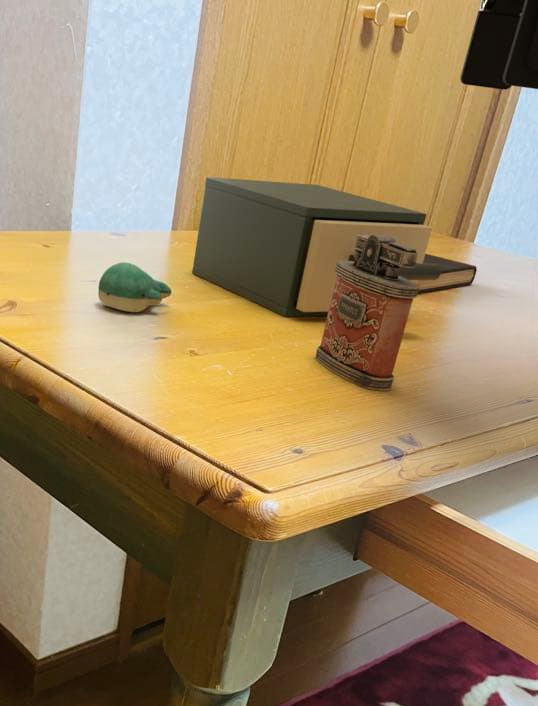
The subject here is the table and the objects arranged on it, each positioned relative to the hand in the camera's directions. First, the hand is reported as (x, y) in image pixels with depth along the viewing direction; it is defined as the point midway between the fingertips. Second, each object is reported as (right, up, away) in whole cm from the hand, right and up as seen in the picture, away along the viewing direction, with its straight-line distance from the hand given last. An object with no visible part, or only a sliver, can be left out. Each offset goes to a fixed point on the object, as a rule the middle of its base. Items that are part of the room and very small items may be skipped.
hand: (506, 87), depth 50 cm
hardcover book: (+6, +7, +56) cm, 57 cm away
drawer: (-3, -3, +34) cm, 34 cm away
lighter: (-5, -14, +15) cm, 21 cm away
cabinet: (-6, -1, +38) cm, 38 cm away
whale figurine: (-22, -6, +25) cm, 34 cm away
